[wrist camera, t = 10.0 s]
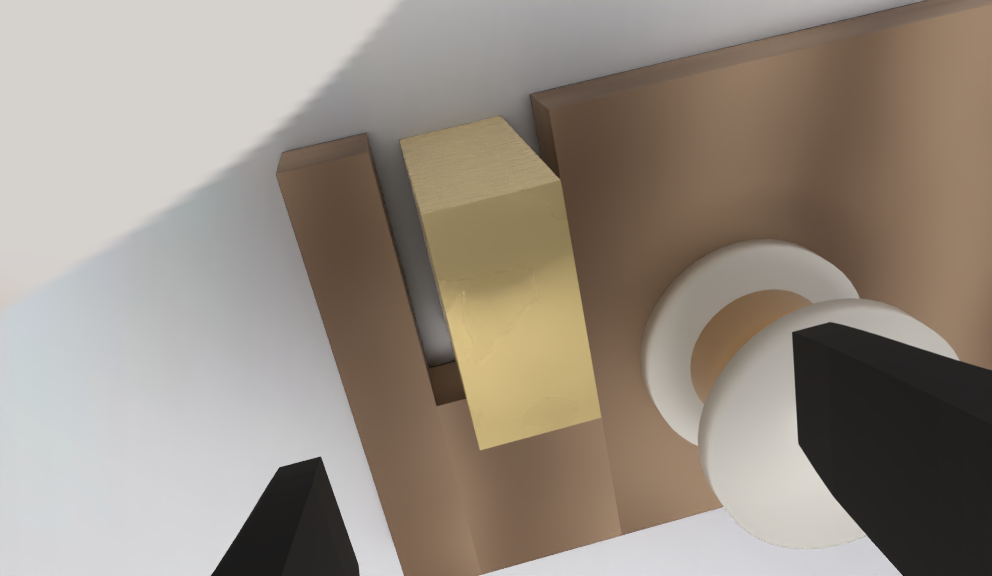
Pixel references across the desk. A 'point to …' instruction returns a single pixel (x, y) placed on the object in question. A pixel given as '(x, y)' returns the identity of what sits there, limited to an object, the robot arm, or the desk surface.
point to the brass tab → (504, 279)
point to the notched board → (664, 260)
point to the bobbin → (758, 378)
